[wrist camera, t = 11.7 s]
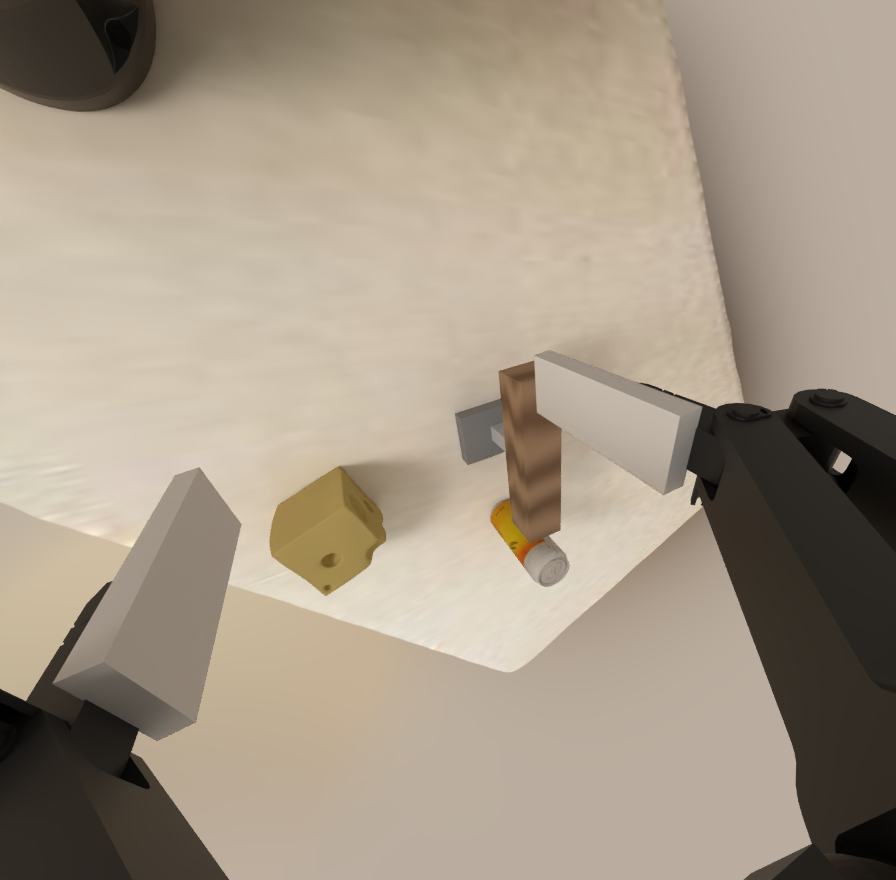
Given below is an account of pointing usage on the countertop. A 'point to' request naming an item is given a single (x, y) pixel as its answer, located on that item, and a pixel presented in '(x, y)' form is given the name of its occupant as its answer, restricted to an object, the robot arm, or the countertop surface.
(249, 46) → the countertop surface
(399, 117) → the countertop surface
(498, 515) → the beer can
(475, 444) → the fulcrum
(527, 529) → the walnut bar
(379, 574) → the countertop surface
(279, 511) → the cheese
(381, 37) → the countertop surface
